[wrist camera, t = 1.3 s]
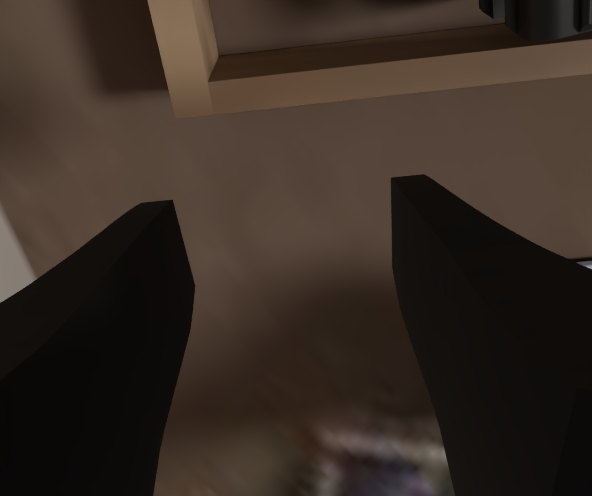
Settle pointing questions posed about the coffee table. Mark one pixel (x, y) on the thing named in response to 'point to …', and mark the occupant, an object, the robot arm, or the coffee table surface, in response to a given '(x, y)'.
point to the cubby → (345, 64)
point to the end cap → (542, 17)
